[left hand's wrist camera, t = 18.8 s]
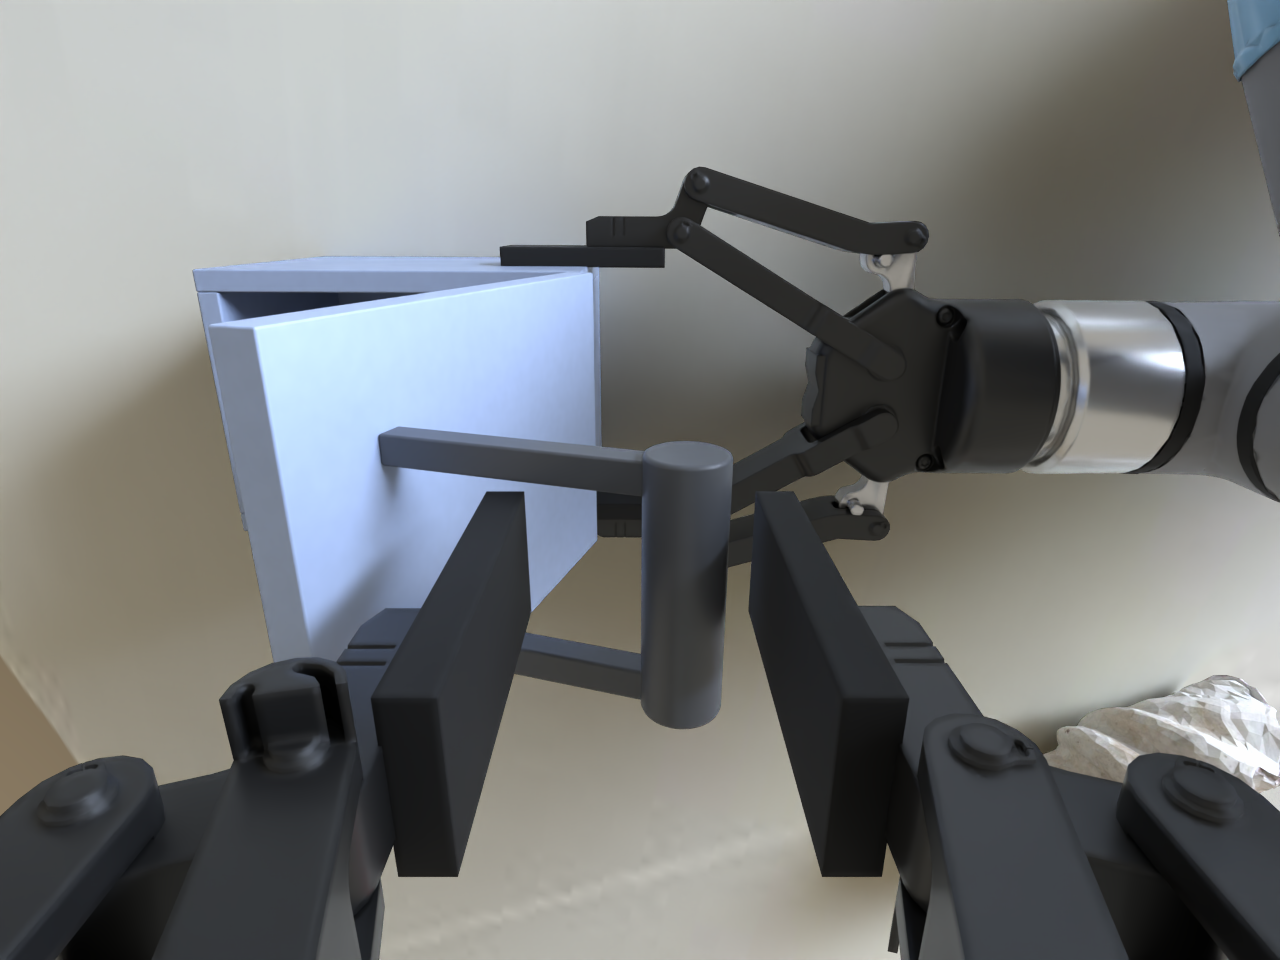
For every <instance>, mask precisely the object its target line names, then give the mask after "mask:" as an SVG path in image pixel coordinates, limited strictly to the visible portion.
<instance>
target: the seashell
mask: <svg viewBox="0 0 1280 960" xmlns="http://www.w3.org/2000/svg"><path fill="white" fill-rule="evenodd" d="M1275 713H1276V710H1275V709H1274V708H1273V707H1271V706H1269V705H1268V704H1267V702H1266V700H1265V698H1264V697H1263V696H1262V694H1261V693H1260V692H1259V691H1258V690H1257V689H1256V688H1254V687H1251V686H1249V685H1248V684H1247V683H1246V682H1245V681H1244V680H1242V679H1240V678H1236V677H1232V676H1228V675H1213V676H1211V677H1209V678H1207V679H1205V680H1203V681H1201V682H1198V683H1195V684H1191V685H1189V686H1187V687H1184V688H1182V689H1181V690H1180V691H1178V692H1175V693H1173V694H1172V695H1167V696H1165V697H1162V698H1153V699H1146V700H1144V701H1141V702H1138V703H1136V704H1133V705H1130V706H1128V707H1126V708H1125V707H1112V708H1101V709H1099V710H1096V711H1093V712H1090V713H1088V714H1087V715H1085V716H1084V717H1083V718H1082V719H1081V720H1080V721H1079V723H1078V725H1077V726H1066V727H1062V728H1060V729H1059V730H1058V731H1057V741H1058V746H1057V748H1056V749H1055V750H1053V751H1050V752H1048V753H1045V754H1043V755H1044V757H1045V758H1046V760H1047V762H1048V765H1049V766H1053V767H1056V768H1060V769H1063V770H1067V771H1070V772H1075V773H1080V774H1084V775H1089V776H1093V777H1098V778H1102V779H1107V780H1111V781H1116V782H1121V783H1123V781H1124V777H1125V774H1126V770H1127V767H1128V764H1130V763H1131V762H1132V761H1133V760H1134V759H1135V758H1137V757H1138V756H1139V755H1145V754H1151V753H1167V754H1175V755H1183V756H1186V757H1189V758H1194V759H1196V760H1201V761H1203V762H1206V763H1209V764H1211V765H1214V766H1216V767H1217V768H1219V769H1221V770H1223V771H1225V772H1227V773H1229V774H1231V775H1233V776H1235V777H1237V778H1239V779H1241V780H1242V781H1243V782H1245V783H1246V784H1247V785H1249V786H1250V787H1251V788H1253V789H1254V790H1255V791H1257V792H1258V793H1261V792H1263V791H1267V790H1270V789H1272V788H1273V789H1274V788H1276V787H1278V786H1280V727H1279V725H1278V722H1277V720H1276V717H1275Z"/></svg>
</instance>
